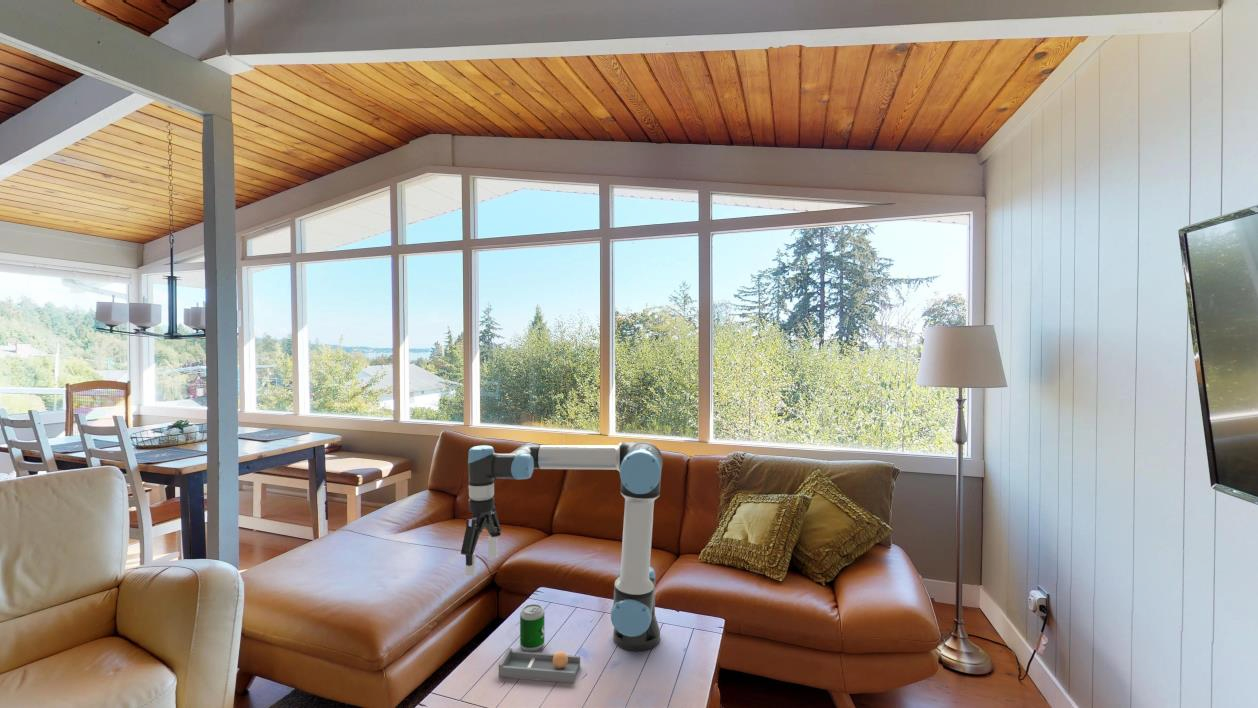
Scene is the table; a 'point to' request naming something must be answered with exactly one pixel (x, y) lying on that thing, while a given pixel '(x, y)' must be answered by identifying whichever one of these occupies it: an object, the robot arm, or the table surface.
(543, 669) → the lane
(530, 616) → the soda can
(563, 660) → the ball
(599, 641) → the table surface
